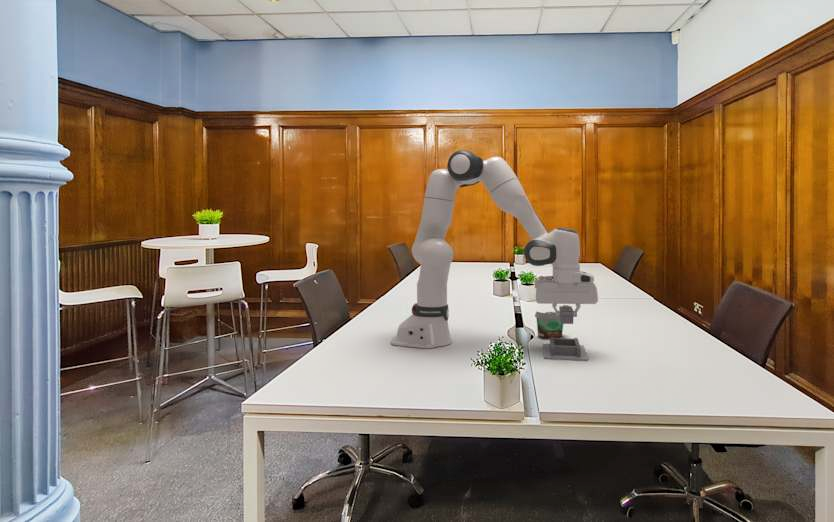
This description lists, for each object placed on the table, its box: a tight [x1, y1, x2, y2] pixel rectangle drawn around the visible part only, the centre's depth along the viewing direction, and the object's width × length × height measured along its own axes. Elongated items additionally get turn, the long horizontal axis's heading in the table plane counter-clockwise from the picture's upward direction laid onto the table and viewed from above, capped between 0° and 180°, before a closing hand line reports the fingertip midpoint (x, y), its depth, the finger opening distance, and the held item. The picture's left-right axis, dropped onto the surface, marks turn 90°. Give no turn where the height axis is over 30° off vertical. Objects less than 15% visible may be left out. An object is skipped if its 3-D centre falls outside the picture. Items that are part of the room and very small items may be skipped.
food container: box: [534, 311, 564, 340], centre depth 197 cm, size 12×6×10 cm, turn 105°
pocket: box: [542, 337, 589, 362], centre depth 178 cm, size 14×17×4 cm
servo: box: [558, 304, 574, 325], centre depth 176 cm, size 4×9×5 cm, turn 168°
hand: (566, 316), depth 177 cm, fingers closed on servo, 4 cm apart
